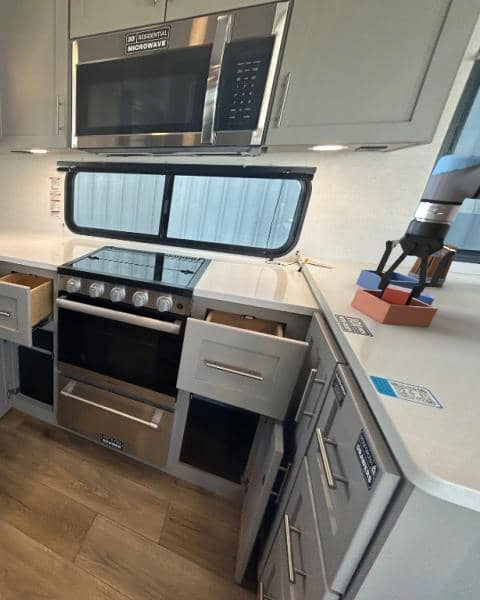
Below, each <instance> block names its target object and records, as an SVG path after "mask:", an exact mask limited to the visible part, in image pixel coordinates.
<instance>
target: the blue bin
mask: <svg viewBox="0 0 480 600" xmlns="http://www.w3.org/2000/svg"><path fill="white" fill-rule="evenodd" d="M376 270H377V269H376ZM376 270H375V269H361V271H360V273H359V276H358V278H357V281H356V285H358V286H360V287H362V288H363V289H367V290H380V289H378V285H379V283H380V281H381V277H380V276H378V275H376V274H375V272H376ZM383 272H385V273H386V272H387V270H383ZM388 279H391V281H390V283H389V284H391V285H395V286H400V287H404V288H408V289H413V287H414V285H419V280H417V279H414V278H411V277H409V276H407V274H403V273H401V272H398V271H393V273H392V274H391V275H390V276H389V277H388ZM425 289H426V287H425V288H424V289H423V291H422V292H424V291H425ZM381 291H382V290H381Z"/></svg>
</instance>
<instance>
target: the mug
mask: <svg viewBox="0 0 480 600" xmlns="http://www.w3.org/2000/svg"><path fill="white" fill-rule="evenodd" d="M444 247H446V248H449V249H451V250H455V251H456V253H455V255H453V256H452V257H451V258H450V259H449V260H448V262H447V264H446V266H445V268H444V270H443V272H442V274H441V276H440V278H439V280H438V282H437V284H436V286H435V287H436V288H437V287H442V286H443V285H444V284H445V282H446V279H447V275H448V273H449V271H450V268H451V266H452V264H453V261H454V259H455V257H456V255H457V251H458V245H455V244H451V243H444ZM441 253H442V251H441V250H439V251H438V252H436V253H434V254H432V255H430V256H429V261H428V269H427V278H426V282H429V281H431V279H432V277H433V275H434V273H435V271H436V269H437V267H438V265H439V263H440V261H441V259H442V257H443V256H441ZM416 258H417V259H416V260H415V262H414V263H413V266H412V267H411V269H410V270H408V273H407V274H406V276H409V277H411V278H414V279H417V280H419V276H420V267H421V258H419V257H416ZM435 287H434V288H435Z"/></svg>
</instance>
